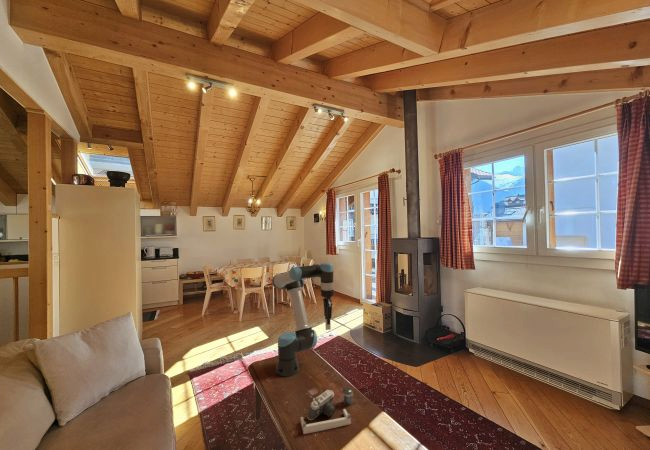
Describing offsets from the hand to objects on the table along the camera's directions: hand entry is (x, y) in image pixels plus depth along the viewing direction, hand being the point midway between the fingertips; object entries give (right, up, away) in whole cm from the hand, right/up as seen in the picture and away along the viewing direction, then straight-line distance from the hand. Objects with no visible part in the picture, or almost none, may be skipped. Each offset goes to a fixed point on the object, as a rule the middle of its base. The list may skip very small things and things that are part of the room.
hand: (328, 329), depth 166 cm
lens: (+10, -32, -19) cm, 38 cm away
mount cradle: (-2, -32, -33) cm, 46 cm away
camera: (-4, -33, -26) cm, 42 cm away
